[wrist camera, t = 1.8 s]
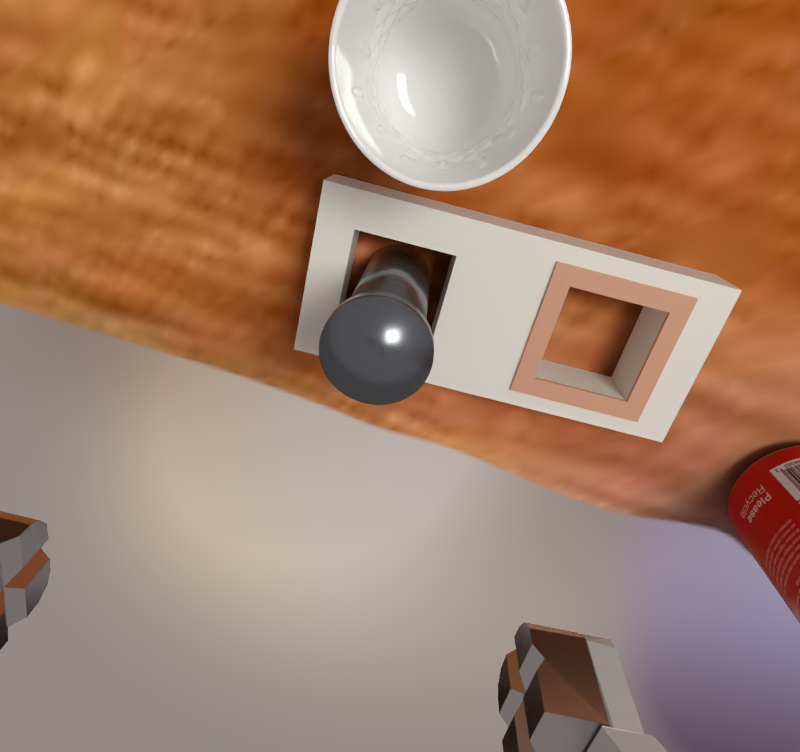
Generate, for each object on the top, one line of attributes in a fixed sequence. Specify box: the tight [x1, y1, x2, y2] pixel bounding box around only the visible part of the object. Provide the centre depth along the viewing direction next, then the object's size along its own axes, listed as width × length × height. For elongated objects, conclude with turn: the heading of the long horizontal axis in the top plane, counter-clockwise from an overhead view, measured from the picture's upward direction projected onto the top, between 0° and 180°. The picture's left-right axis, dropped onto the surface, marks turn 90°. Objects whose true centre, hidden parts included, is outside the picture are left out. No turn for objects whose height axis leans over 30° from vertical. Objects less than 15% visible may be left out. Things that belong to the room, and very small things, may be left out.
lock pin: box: [319, 245, 434, 405], centre depth 27 cm, size 4×4×11 cm
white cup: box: [328, 0, 572, 191], centre depth 23 cm, size 8×8×10 cm
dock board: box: [294, 174, 742, 442], centre depth 30 cm, size 21×9×3 cm, turn 76°
